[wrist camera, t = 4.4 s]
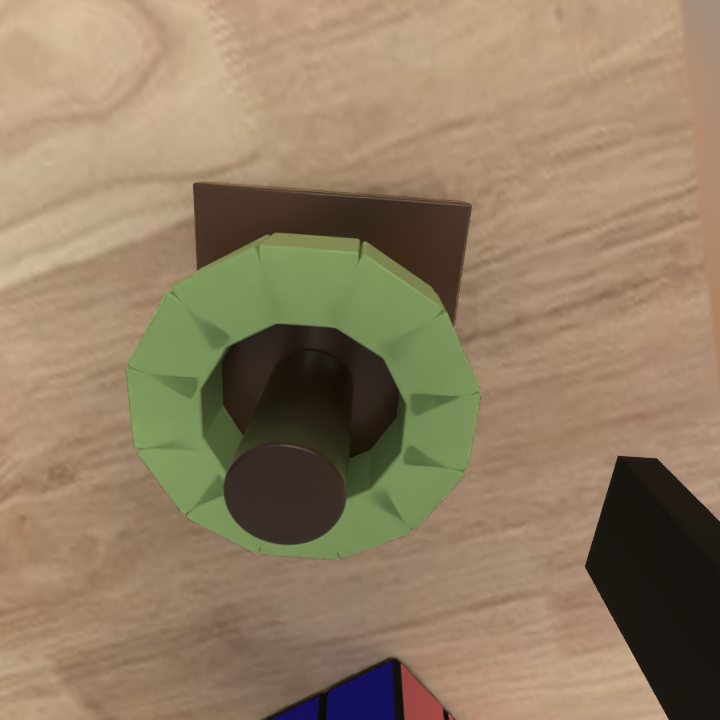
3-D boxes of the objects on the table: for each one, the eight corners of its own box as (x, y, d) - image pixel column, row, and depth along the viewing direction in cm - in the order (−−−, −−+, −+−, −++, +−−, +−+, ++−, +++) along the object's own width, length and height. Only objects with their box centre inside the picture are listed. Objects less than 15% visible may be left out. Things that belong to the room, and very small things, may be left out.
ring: (485, 248, 13) (505, 262, 11) (441, 521, 16) (451, 568, 14) (147, 222, 13) (109, 232, 11) (169, 503, 16) (143, 548, 14)
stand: (466, 201, 19) (606, 256, 8) (433, 432, 23) (497, 692, 12) (202, 181, 19) (-34, 208, 8) (211, 416, 23) (61, 665, 11)
